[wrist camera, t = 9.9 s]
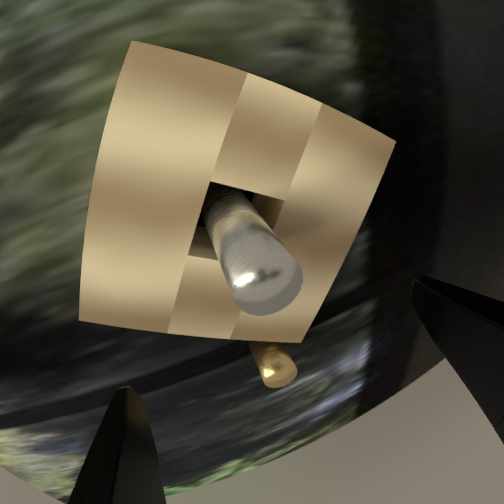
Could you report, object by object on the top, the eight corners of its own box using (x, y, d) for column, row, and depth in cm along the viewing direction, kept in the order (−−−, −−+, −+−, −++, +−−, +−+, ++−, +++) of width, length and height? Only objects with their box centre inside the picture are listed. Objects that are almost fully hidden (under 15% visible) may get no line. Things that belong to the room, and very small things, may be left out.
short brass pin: (272, 352, 26) (288, 386, 23) (244, 351, 25) (258, 387, 22) (283, 329, 26) (302, 364, 22) (255, 327, 24) (271, 364, 21)
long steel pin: (233, 224, 20) (286, 318, 12) (192, 215, 19) (223, 312, 11) (247, 185, 19) (314, 260, 11) (205, 174, 18) (247, 247, 10)
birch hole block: (280, 307, 24) (300, 342, 21) (88, 280, 19) (79, 320, 15) (356, 129, 19) (396, 141, 15) (137, 52, 13) (131, 40, 10)
